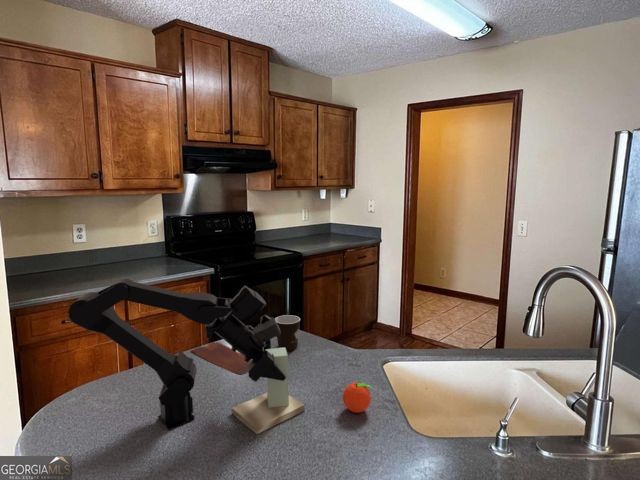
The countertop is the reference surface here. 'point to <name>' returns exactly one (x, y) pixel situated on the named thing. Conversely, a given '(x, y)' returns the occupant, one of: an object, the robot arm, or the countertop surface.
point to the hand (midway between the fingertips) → (283, 373)
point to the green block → (278, 388)
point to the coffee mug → (288, 331)
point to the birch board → (265, 413)
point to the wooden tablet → (223, 357)
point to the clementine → (357, 397)
